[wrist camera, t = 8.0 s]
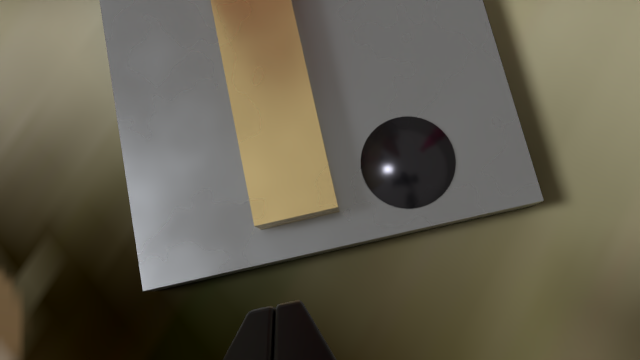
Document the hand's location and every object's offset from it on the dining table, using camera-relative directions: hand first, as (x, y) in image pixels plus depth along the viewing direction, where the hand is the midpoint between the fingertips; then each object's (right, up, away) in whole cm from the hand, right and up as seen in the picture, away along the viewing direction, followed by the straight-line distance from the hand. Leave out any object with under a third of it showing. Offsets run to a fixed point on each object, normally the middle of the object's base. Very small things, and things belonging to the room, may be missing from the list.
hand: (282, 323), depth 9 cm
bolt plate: (-1, +12, +11) cm, 16 cm away
